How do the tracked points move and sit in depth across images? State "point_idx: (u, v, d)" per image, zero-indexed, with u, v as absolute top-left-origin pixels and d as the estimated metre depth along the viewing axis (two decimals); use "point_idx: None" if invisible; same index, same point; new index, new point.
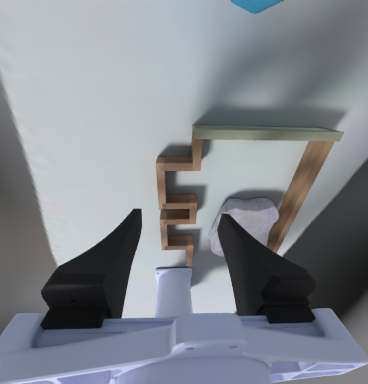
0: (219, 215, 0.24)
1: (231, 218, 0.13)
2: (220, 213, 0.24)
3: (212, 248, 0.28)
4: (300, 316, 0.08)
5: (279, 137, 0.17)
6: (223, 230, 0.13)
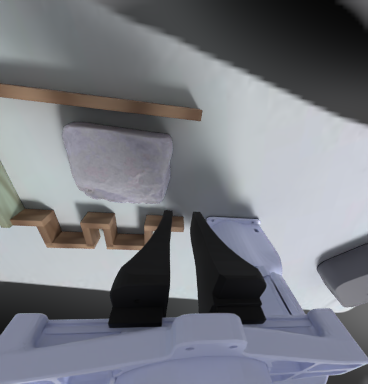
0: None
1: (200, 216, 0.13)
2: None
3: (153, 202, 0.21)
4: (250, 317, 0.07)
5: None
6: (193, 229, 0.13)
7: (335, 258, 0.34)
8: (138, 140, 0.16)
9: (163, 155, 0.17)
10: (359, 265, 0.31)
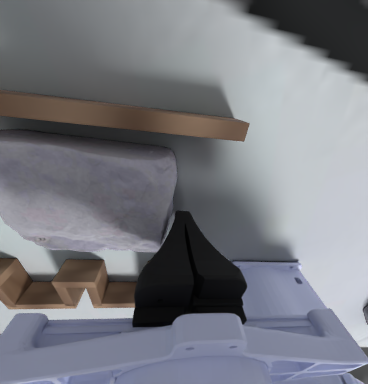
0: None
1: (189, 216, 0.12)
2: None
3: (146, 251, 0.14)
4: None
5: None
6: None
7: None
8: (112, 164, 0.08)
9: (159, 190, 0.09)
10: None
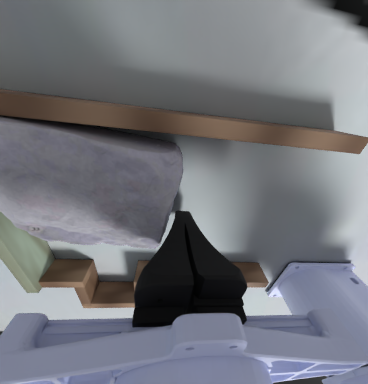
0: None
1: (189, 216, 0.12)
2: None
3: (144, 247, 0.14)
4: None
5: None
6: None
7: None
8: (119, 154, 0.08)
9: (165, 184, 0.09)
10: None
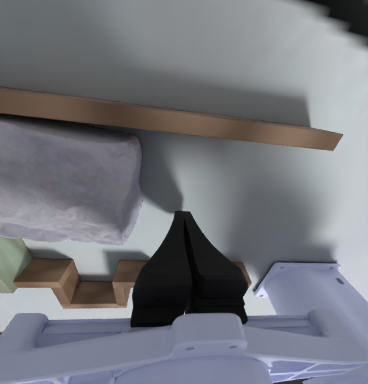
0: None
1: (189, 216, 0.12)
2: None
3: (111, 243, 0.13)
4: None
5: None
6: None
7: None
8: (59, 144, 0.08)
9: (114, 176, 0.09)
10: None
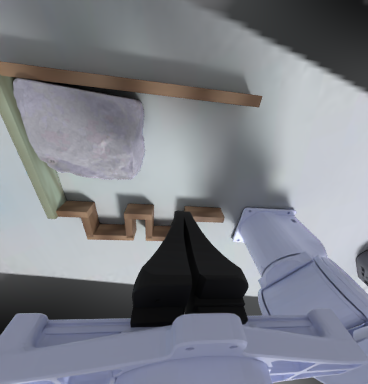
0: None
1: (189, 216, 0.12)
2: None
3: (125, 178, 0.20)
4: None
5: (23, 149, 0.16)
6: None
7: None
8: (99, 98, 0.14)
9: (128, 118, 0.15)
10: None
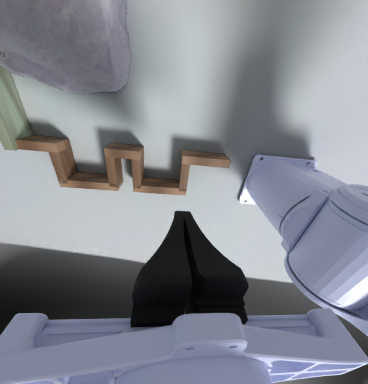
0: (15, 73, 0.14)
1: (189, 216, 0.12)
2: None
3: (104, 88, 0.15)
4: None
5: None
6: None
7: None
8: None
9: None
10: None
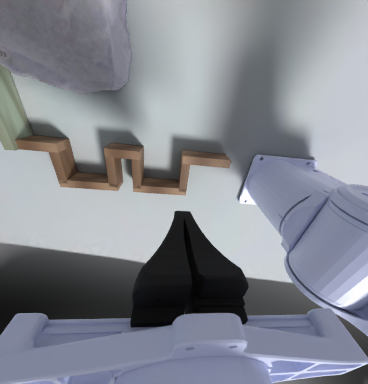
0: (17, 73, 0.14)
1: (189, 216, 0.12)
2: (13, 71, 0.14)
3: (105, 86, 0.15)
4: None
5: None
6: None
7: None
8: None
9: None
10: None
